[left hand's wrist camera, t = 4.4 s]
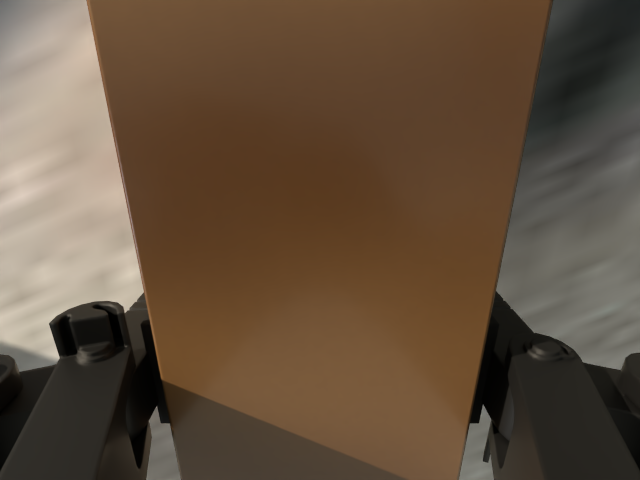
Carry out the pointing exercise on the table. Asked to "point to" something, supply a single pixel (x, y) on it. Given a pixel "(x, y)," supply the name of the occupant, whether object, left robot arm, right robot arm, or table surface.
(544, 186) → the table surface
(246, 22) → the bar
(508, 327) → the left robot arm
